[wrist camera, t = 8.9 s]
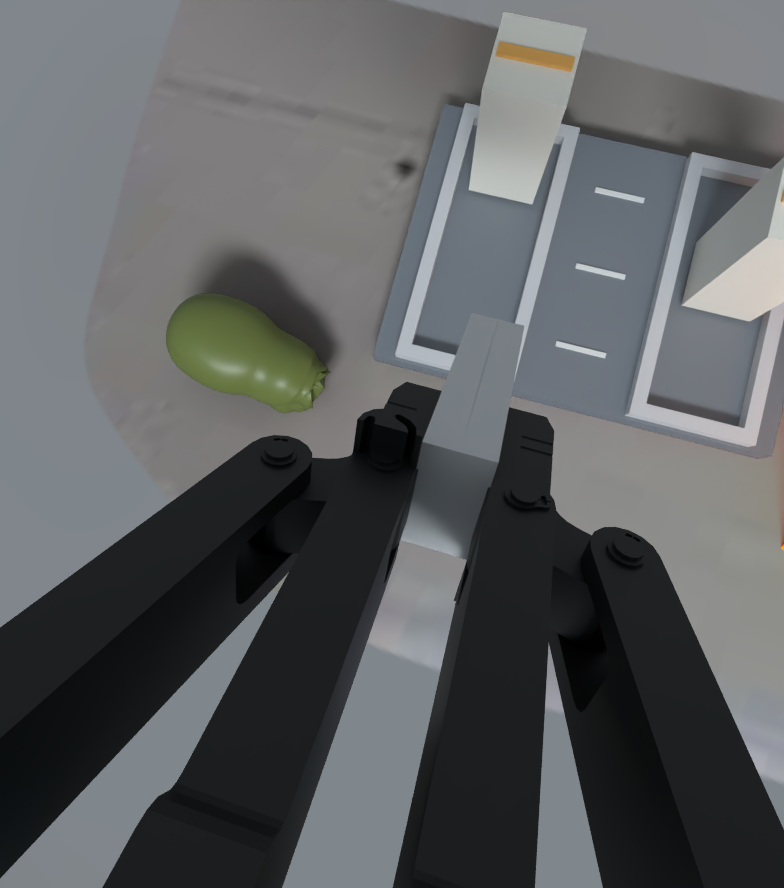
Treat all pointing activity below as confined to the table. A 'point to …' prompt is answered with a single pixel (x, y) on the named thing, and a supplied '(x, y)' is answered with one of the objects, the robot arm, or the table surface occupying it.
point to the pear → (243, 353)
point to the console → (590, 287)
